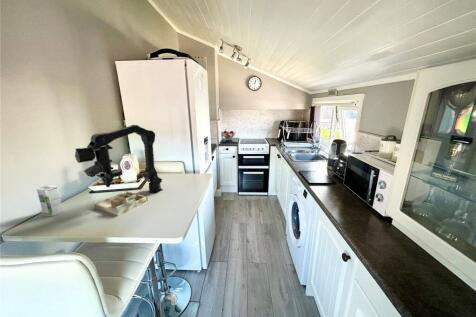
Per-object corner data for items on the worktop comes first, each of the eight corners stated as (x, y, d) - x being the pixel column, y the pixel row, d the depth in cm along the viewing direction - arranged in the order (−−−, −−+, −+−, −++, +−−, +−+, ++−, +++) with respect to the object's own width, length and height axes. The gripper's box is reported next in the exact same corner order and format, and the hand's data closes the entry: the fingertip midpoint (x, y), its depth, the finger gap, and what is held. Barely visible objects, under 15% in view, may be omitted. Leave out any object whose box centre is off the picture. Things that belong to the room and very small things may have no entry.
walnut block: (120, 203, 103) (119, 196, 102) (127, 205, 101) (125, 198, 100) (111, 207, 99) (110, 200, 98) (117, 209, 97) (116, 202, 96)
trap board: (126, 194, 119) (125, 188, 118) (148, 200, 111) (147, 193, 110) (95, 208, 103) (93, 200, 102) (118, 216, 95) (116, 207, 94)
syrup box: (42, 215, 96) (35, 188, 92) (56, 209, 102) (49, 184, 98) (51, 216, 95) (43, 190, 91) (64, 210, 100) (57, 185, 97)
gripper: (74, 160, 94) (80, 189, 98) (97, 164, 86) (103, 196, 90) (98, 155, 104) (103, 182, 108) (120, 159, 96) (125, 187, 100)
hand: (108, 186), depth 101 cm, fingers closed
